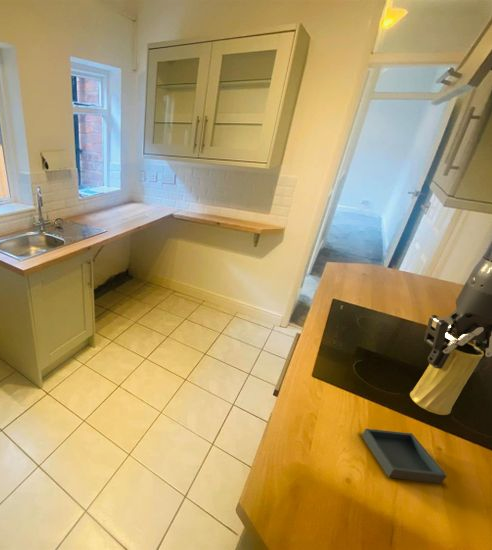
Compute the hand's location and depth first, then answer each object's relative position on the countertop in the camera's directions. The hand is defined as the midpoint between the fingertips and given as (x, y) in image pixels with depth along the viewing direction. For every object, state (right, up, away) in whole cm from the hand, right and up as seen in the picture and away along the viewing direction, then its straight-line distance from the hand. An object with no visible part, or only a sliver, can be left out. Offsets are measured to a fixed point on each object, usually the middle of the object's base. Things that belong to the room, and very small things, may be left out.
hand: (451, 366), depth 57 cm
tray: (-1, -24, +10) cm, 26 cm away
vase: (0, -9, +4) cm, 10 cm away
